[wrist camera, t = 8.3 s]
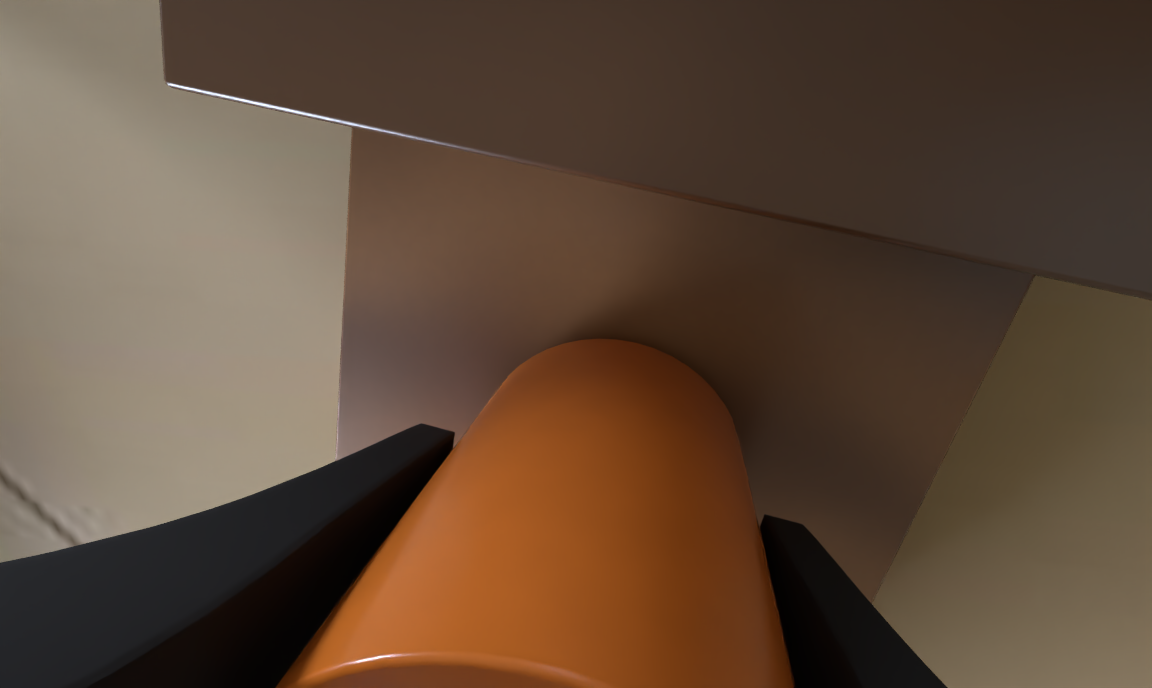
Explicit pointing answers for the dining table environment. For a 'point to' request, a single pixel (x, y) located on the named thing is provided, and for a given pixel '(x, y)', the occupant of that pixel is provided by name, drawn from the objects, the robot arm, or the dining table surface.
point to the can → (570, 546)
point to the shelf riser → (712, 205)
